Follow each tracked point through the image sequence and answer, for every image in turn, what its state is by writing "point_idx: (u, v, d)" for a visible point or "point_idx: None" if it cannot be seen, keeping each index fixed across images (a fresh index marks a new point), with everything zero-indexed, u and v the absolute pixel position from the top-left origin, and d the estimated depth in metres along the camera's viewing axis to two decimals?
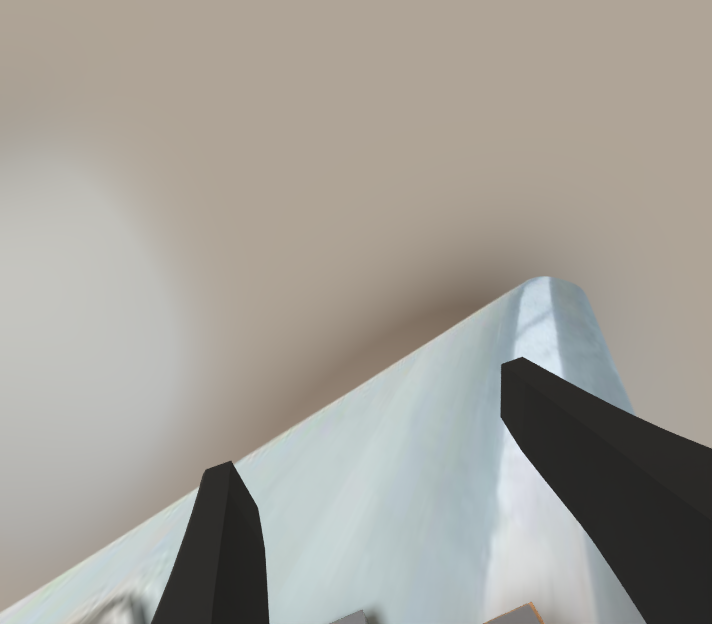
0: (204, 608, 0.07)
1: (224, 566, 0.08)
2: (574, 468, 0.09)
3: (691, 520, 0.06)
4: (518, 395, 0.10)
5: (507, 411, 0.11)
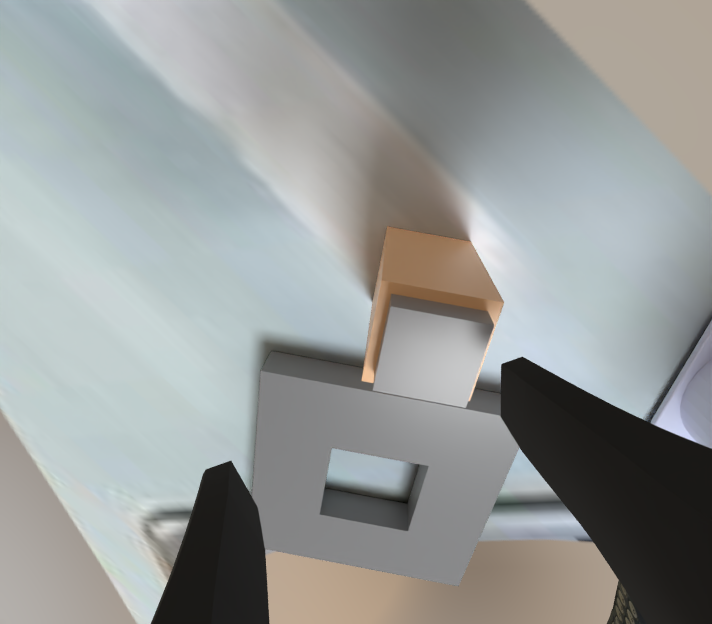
0: (204, 607, 0.07)
1: (224, 566, 0.08)
2: (574, 468, 0.09)
3: (691, 520, 0.06)
4: (518, 395, 0.10)
5: (507, 411, 0.11)
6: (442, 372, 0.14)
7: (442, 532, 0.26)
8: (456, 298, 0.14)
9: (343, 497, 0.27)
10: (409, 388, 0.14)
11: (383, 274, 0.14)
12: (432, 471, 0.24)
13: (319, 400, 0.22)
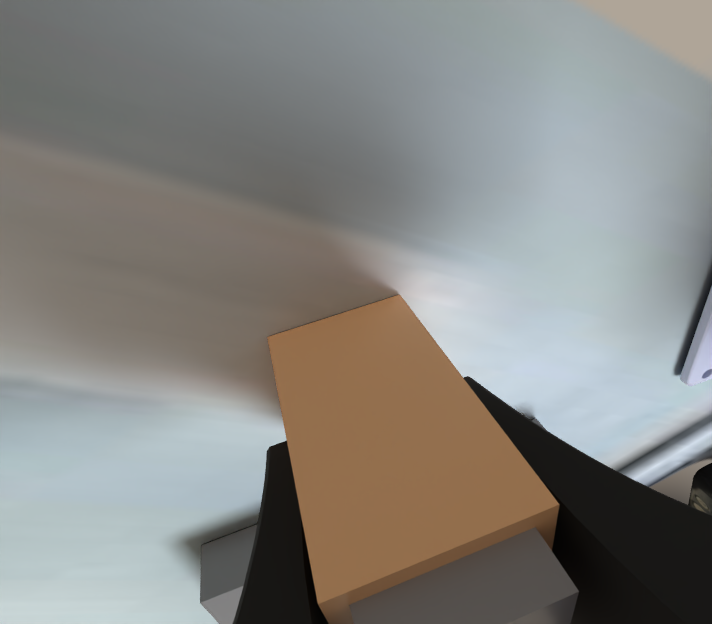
0: (294, 572, 0.07)
1: None
2: None
3: (604, 559, 0.06)
4: None
5: None
6: None
7: None
8: (472, 546, 0.07)
9: None
10: None
11: (313, 566, 0.07)
12: None
13: None
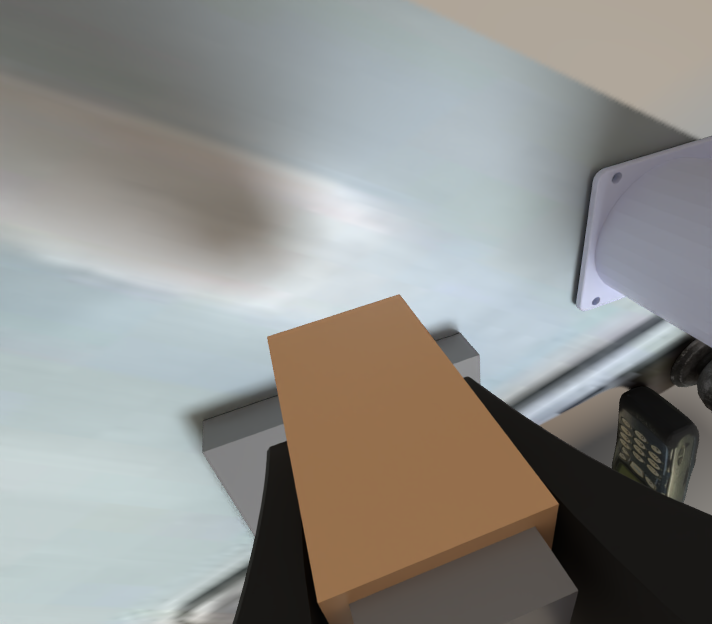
0: (294, 572, 0.07)
1: None
2: None
3: (603, 559, 0.06)
4: None
5: None
6: None
7: None
8: (472, 544, 0.07)
9: None
10: None
11: (313, 565, 0.07)
12: None
13: None
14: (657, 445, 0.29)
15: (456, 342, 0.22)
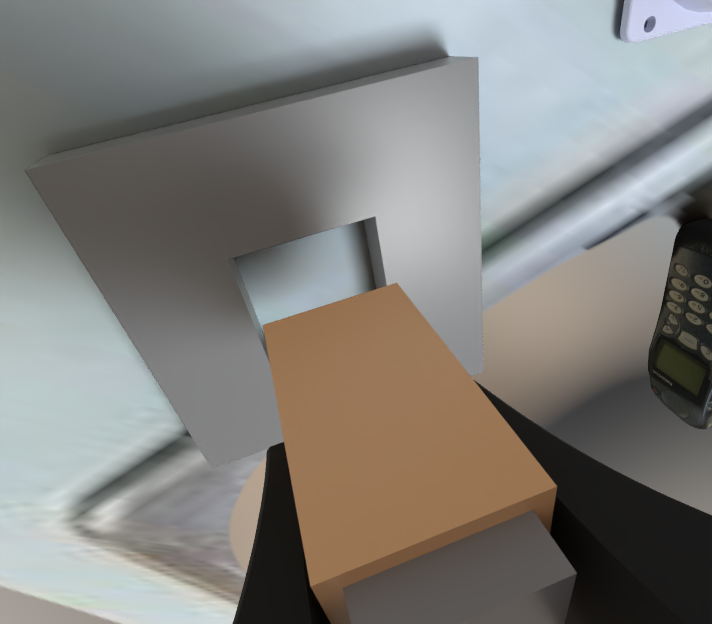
0: (294, 572, 0.07)
1: None
2: None
3: (604, 559, 0.06)
4: None
5: None
6: None
7: (436, 309, 0.19)
8: (468, 528, 0.06)
9: None
10: None
11: (306, 548, 0.06)
12: (382, 222, 0.16)
13: (158, 181, 0.13)
14: None
15: (443, 60, 0.15)
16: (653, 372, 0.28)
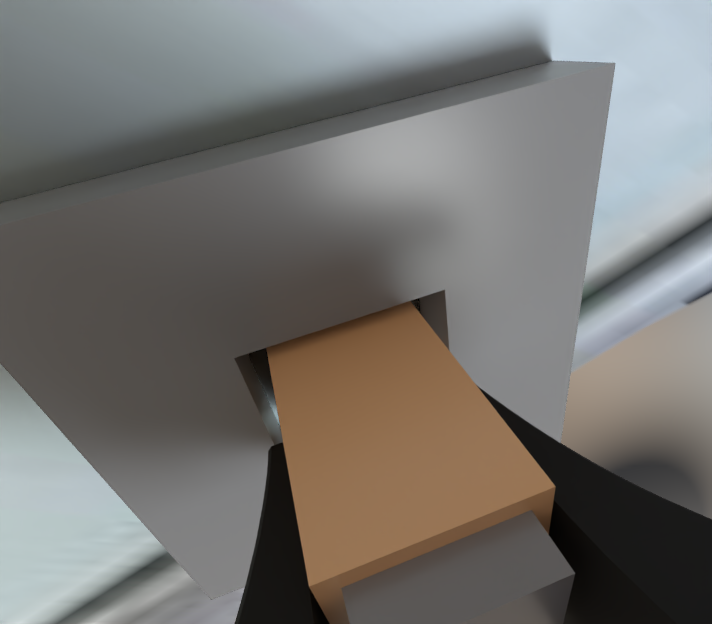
0: (296, 571, 0.07)
1: None
2: None
3: (599, 560, 0.06)
4: None
5: None
6: None
7: (510, 398, 0.14)
8: (467, 528, 0.06)
9: None
10: None
11: (305, 548, 0.07)
12: (454, 297, 0.11)
13: (127, 258, 0.08)
14: None
15: (550, 66, 0.10)
16: None
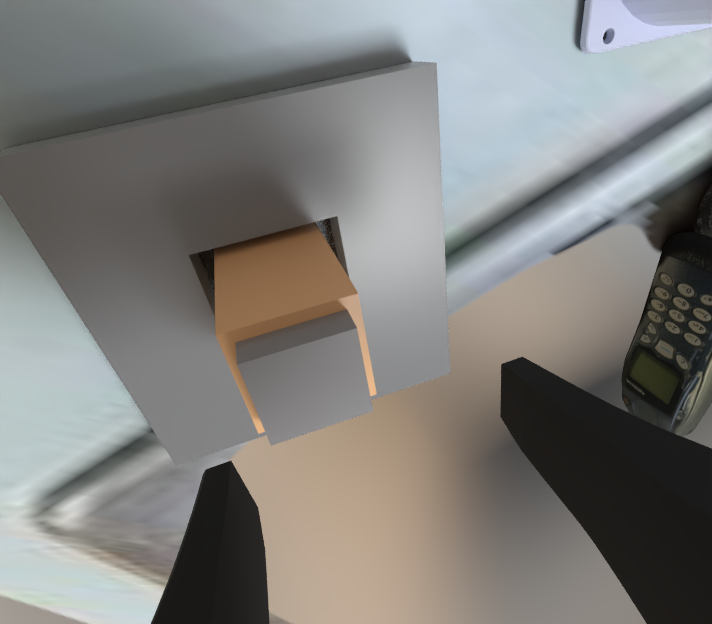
0: (205, 608, 0.07)
1: (224, 566, 0.08)
2: (574, 468, 0.09)
3: (691, 520, 0.06)
4: (518, 395, 0.10)
5: (507, 411, 0.11)
6: (331, 394, 0.12)
7: (400, 309, 0.19)
8: (307, 313, 0.12)
9: None
10: (307, 424, 0.12)
11: (216, 323, 0.12)
12: (345, 222, 0.16)
13: (117, 175, 0.13)
14: None
15: (405, 64, 0.15)
16: (626, 382, 0.29)
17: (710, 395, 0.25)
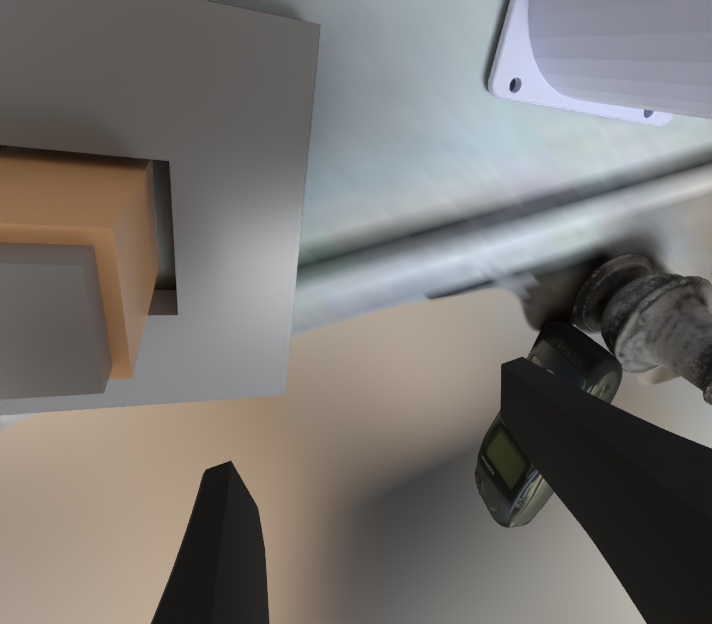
0: (204, 608, 0.07)
1: (224, 566, 0.08)
2: (574, 468, 0.09)
3: (692, 520, 0.06)
4: (518, 395, 0.10)
5: (507, 411, 0.11)
6: (35, 352, 0.09)
7: (235, 303, 0.16)
8: (28, 232, 0.08)
9: None
10: None
11: None
12: (178, 172, 0.13)
13: None
14: None
15: None
16: (481, 458, 0.28)
17: (550, 489, 0.25)
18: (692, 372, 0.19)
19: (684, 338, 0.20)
